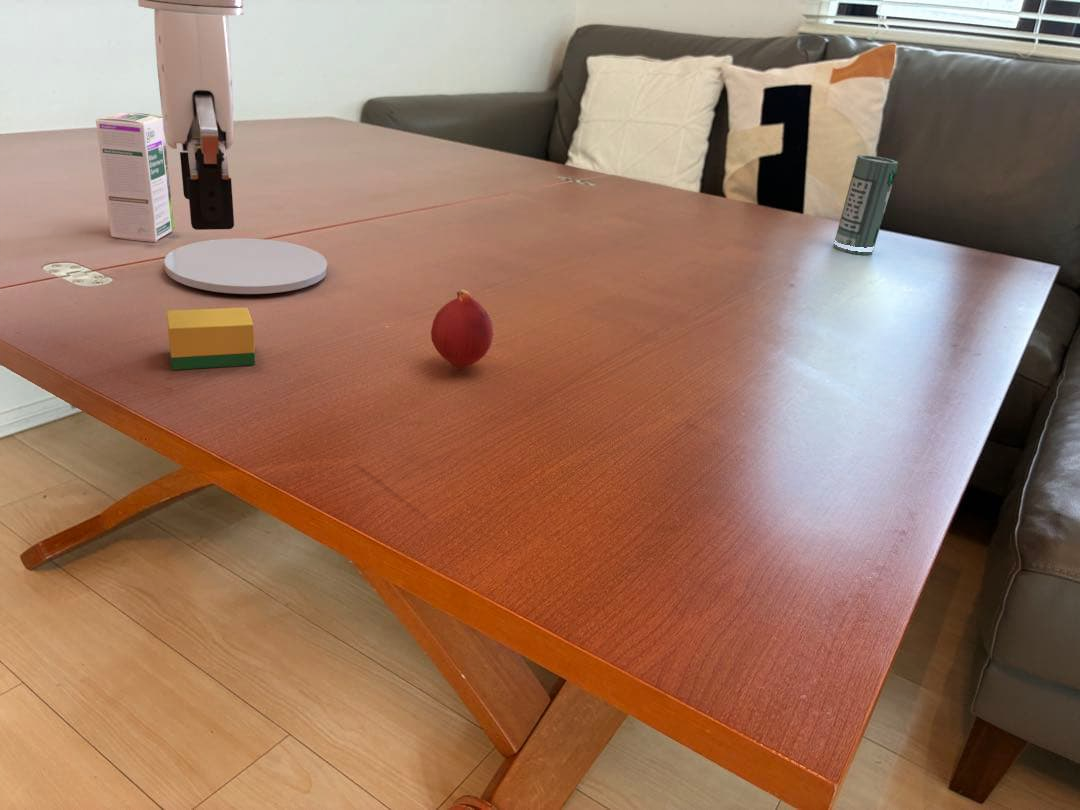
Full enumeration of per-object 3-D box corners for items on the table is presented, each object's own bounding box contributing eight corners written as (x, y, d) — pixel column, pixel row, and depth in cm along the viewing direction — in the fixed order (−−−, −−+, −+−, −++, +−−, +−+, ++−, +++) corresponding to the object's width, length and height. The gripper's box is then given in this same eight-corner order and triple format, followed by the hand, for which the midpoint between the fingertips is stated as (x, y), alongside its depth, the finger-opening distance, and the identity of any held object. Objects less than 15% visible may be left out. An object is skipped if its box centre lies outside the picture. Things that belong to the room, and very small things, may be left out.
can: (878, 254, 143) (905, 163, 136) (854, 255, 140) (881, 163, 133) (850, 243, 147) (875, 155, 141) (826, 245, 144) (850, 155, 138)
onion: (463, 351, 86) (469, 276, 82) (501, 372, 82) (509, 294, 79) (417, 363, 82) (421, 285, 78) (455, 386, 78) (461, 304, 75)
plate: (169, 302, 89) (167, 288, 88) (162, 250, 103) (160, 238, 103) (341, 296, 96) (341, 283, 96) (312, 248, 111) (312, 237, 110)
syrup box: (156, 243, 106) (145, 122, 99) (108, 237, 105) (94, 116, 99) (174, 231, 111) (165, 115, 104) (129, 226, 111) (117, 110, 104)
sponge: (172, 370, 75) (168, 328, 73) (169, 350, 78) (166, 310, 77) (255, 365, 78) (253, 324, 76) (249, 346, 81) (247, 307, 79)
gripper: (134, -20, 70) (156, 188, 78) (138, -10, 56) (164, 243, 64) (230, -11, 73) (242, 188, 81) (256, 0, 59) (268, 241, 67)
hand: (208, 212), depth 72 cm, fingers open, 9 cm apart
